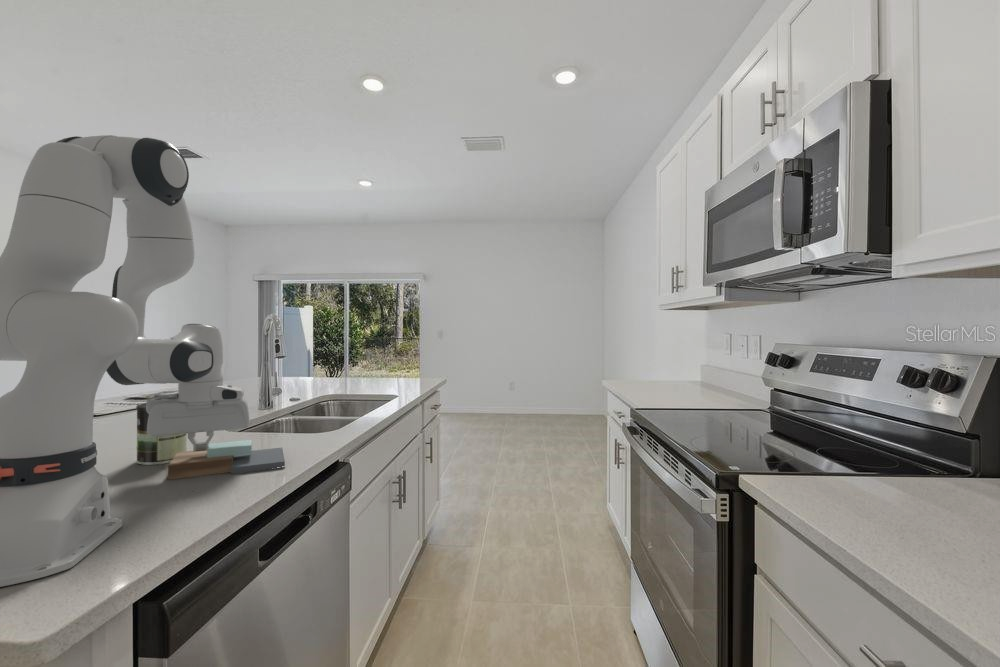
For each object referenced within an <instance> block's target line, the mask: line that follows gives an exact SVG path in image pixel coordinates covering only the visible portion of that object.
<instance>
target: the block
mask: <svg viewBox="0 0 1000 667" xmlns="http://www.w3.org/2000/svg"><path fill="white" fill-rule="evenodd" d="M252 447H253V445H252V439H244V440H236V441H235V440H233V441H232V440H231V441H222V442H212V443H210V442H209V446H208V449H207V458H212V457H222V456H232V455H241V454H251V451H253V450H252Z"/></svg>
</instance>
